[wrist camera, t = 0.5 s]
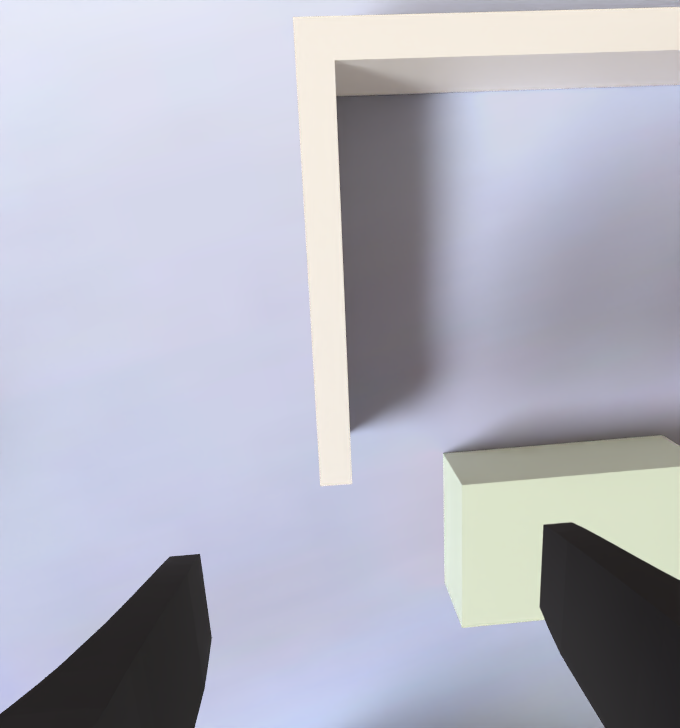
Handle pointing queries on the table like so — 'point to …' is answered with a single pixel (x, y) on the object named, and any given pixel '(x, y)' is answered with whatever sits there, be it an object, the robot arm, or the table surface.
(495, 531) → the green tile
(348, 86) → the bin
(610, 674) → the robot arm
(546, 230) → the table surface
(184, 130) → the table surface
